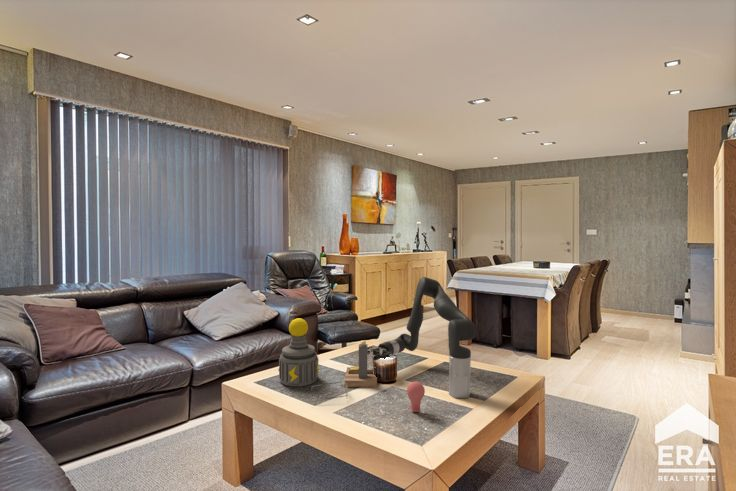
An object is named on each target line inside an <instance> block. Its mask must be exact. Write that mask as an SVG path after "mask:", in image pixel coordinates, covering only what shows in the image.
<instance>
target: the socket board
mask: <svg viewBox="0 0 736 491" xmlns="http://www.w3.org/2000/svg"><path fill="white" fill-rule="evenodd" d="M374 368H375V367H373V366H367V378H359V366H349V367H346V370H345V375H344V379H343V380H344V381H343V383H344V382H346V383H344V385H343V387H344V388H345V385H346V386H347V388H377V386H378V376H377V377H376V376H375V375H374V374H373V371H374Z"/></svg>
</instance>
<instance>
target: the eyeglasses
mask: <svg viewBox="0 0 736 491" xmlns="http://www.w3.org/2000/svg"><path fill="white" fill-rule="evenodd" d="M344 380H345V379H342V381H343V383H346V382H344ZM338 383H340V384H341V381H338V382H337V381H336V382H335V381H334V382H329V383H324V384H317V385H312V386H311V391H313V388H314V387H320V386H326V385H332V384H333V385H334V384H338ZM342 386H343V385H340V387H341V388H343V387H342ZM344 388H345V389H344V390H345V393H346V394H345V395H338V396H333V397H328V398H321V399H320V398H319V399H316V400H315V401H314V405H317V404H316V403H317V402H318V401H326V400H330V399H335V398H336V399H337V398H342V397H346V398H348V397H349V396H348V387H347V386H346V385H345V387H344Z"/></svg>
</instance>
